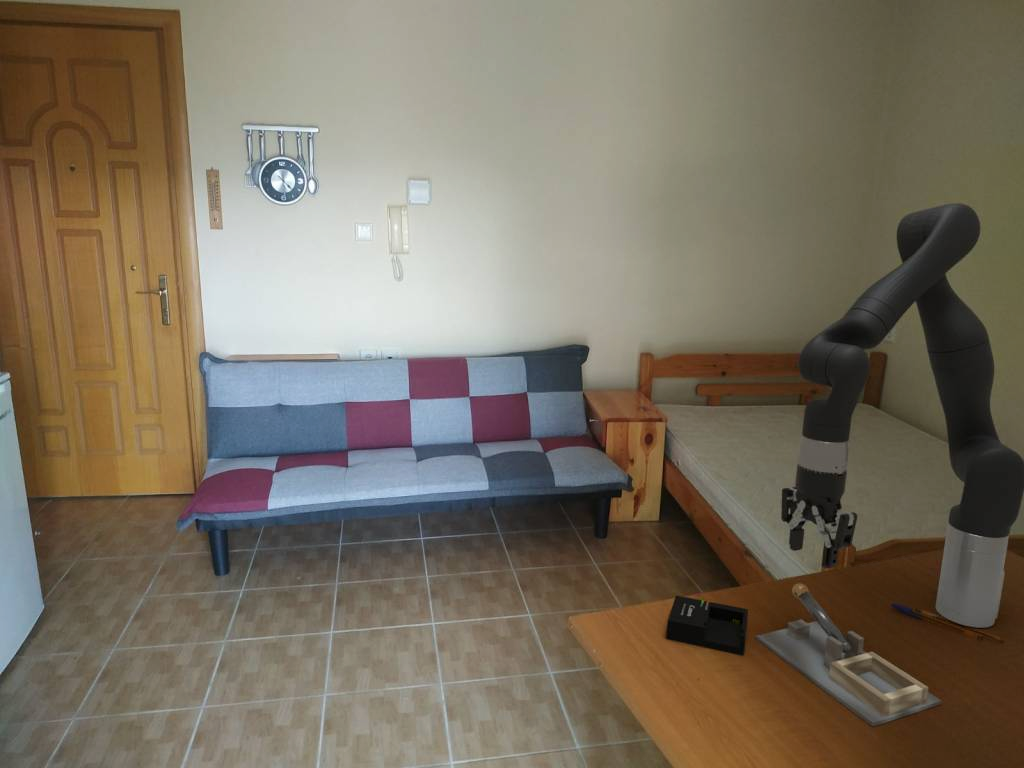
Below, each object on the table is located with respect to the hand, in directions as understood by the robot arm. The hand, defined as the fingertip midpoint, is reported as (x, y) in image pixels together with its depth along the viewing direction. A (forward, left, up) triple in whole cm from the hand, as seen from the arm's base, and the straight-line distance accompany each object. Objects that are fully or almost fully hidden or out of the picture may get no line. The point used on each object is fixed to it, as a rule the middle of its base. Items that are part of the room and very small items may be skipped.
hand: (811, 557), depth 117 cm
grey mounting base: (0, +15, -16) cm, 22 cm away
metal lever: (0, +8, -12) cm, 14 cm away
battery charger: (+14, -8, -16) cm, 23 cm away
